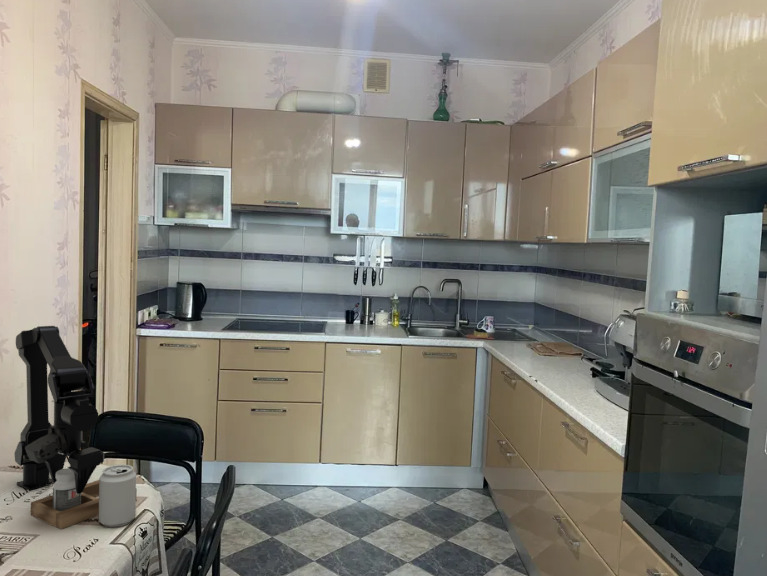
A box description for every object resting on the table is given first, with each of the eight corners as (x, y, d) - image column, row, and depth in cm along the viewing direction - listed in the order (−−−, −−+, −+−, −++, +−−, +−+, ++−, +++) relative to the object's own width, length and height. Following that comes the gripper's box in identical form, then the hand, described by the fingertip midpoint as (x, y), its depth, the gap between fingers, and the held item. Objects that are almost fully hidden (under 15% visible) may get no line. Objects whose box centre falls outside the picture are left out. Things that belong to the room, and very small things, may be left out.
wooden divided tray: (30, 515, 131) (30, 502, 130) (106, 489, 146) (106, 477, 146) (61, 529, 124) (61, 515, 124) (136, 500, 140) (136, 488, 140)
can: (121, 530, 125) (122, 476, 124) (90, 526, 126) (91, 472, 126) (142, 516, 132) (143, 464, 132) (113, 512, 134) (114, 461, 133)
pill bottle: (86, 512, 133) (87, 470, 133) (63, 521, 128) (64, 478, 127) (70, 507, 136) (70, 465, 135) (46, 516, 130) (47, 472, 130)
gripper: (8, 421, 128) (8, 490, 129) (56, 437, 119) (55, 511, 120) (58, 411, 138) (57, 475, 139) (106, 425, 128) (105, 493, 129)
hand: (67, 488), depth 131 cm, fingers open, 9 cm apart
